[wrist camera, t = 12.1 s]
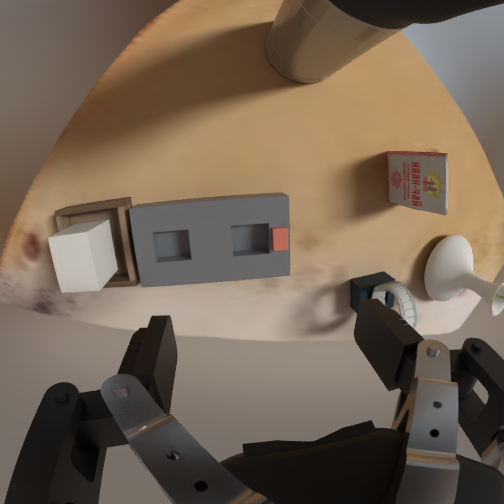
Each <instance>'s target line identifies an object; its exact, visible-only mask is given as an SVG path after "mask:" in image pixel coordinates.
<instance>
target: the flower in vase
mask: <svg viewBox="0 0 504 504" xmlns="http://www.w3.org/2000/svg"><path fill="white" fill-rule="evenodd" d="M424 281H425V288H426V291H427V293H428V295H429V296H430V297H431V298H432V299H433V300H436V301H447V300H449V299H451V298H453V297H455V296H457V295H458V294H459V293H460V292H461V291H462V290H464V289H465V288H468V289H470V290H472V291H474V292H476V293H477V294H478V295H480V296H481V297H482V298H483V299H484V300H485V301H486V303H487V304H488V306H489V309H490V313H491V315H492V316H496V315H498V314H499V313H500V312H501V311H502V309H503V308H504V282H503V283H499V284H496V283H491V282H488V281H486V280H484V279H482V278H480V277H478V276H477V275H476V274H474V272H473V255H472V250H471V247H470V244H469V243H468V242H467V240H466V239H465V238H464V237H463V236H461V235H458V234H453V235H450V236H448V237H446V238H444V239H443V240H441V241H440V242H439V243H438V244H437V245H436V247H435V248H434V249H433V251H432V253H431V254H430V257H429V259H428V261H427V264H426V268H425V275H424Z"/></svg>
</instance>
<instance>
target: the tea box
mask: <svg viewBox="0 0 504 504" xmlns="http://www.w3.org/2000/svg"><path fill="white" fill-rule="evenodd" d="M387 172H388V202H392V203H395V204H398V205H402V206H405V207H408V208H412V209H416V210H422V211H427V212H433V213H437V214H442V215H445V214H446V215H447V207H448V154H447V153H433V152H410V151H387Z"/></svg>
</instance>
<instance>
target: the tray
mask: <svg viewBox="0 0 504 504" xmlns="http://www.w3.org/2000/svg"><path fill="white" fill-rule="evenodd" d="M130 208H132V204H131V197H126V198H119V199H112V200H105V201H99V202H92V203H86V204H80V205H74V206H69V207H65V208H62V209H59V210H56V211H55V216H56V223H57V229H58V232H60V231H62V230H63V229H65V228H67V227H69V226H71V225H74V224H80V223H87V222H94V221H101V220H108V219H109V223H110V229H111V235H112V241H113V247H114V252H115V257H116V262H117V267H118V270H117V271H116V272H115V274H114V275H113V276H112V277H111V278H110V279H109V281H108V282H107V283H106V284H105V285H104V287H103V288H109V287H126V286H137V284H138V283H139V281H140V275H139V270H138V265H137V259H136V253H135V247H134V241H133V234H132V227H131V220H130V212H129V209H130Z"/></svg>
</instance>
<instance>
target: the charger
mask: <svg viewBox="0 0 504 504" xmlns="http://www.w3.org/2000/svg"><path fill="white" fill-rule="evenodd" d="M48 241H49V246H50V250H51V255H52V259H53V263H54V267H55V271H56V275H57V279H58V282H59V286H60V289H61V293H66V292H87V291H100V290H101V289H102V288H103V287H104V285H105V284H106V283H107V282H108V281H109V279H110V278H111V277H112V276H113V275H114V274H115V272H116V271H117V270H118V267H117V262H116V257H115V252H114V247H113V241H112V235H111V229H110V223H109V219H108V220H101V221H94V222H87V223H80V224H74V225H71V226H69V227H67V228H65V229H63V230H62V231H60V232H58V233H56V234H54V235H52V236H50V237H48Z"/></svg>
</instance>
